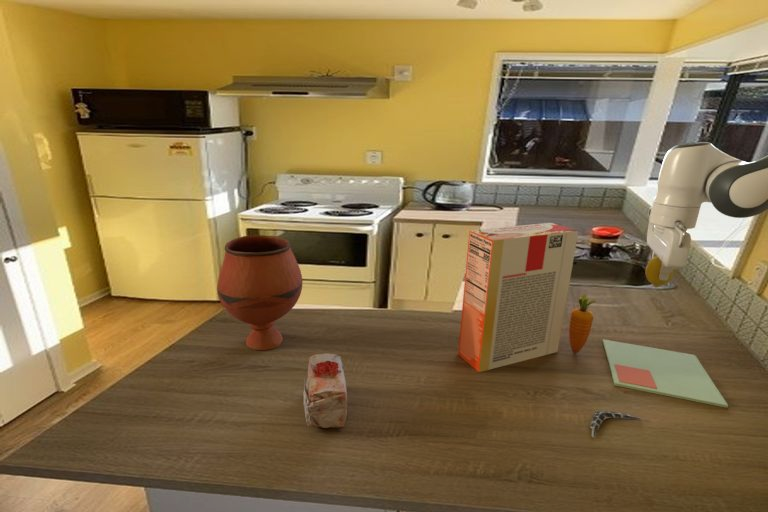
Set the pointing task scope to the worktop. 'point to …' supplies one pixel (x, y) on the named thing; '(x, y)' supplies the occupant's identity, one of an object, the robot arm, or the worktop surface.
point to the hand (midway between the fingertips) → (658, 274)
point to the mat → (661, 372)
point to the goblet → (259, 285)
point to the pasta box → (515, 293)
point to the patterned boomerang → (602, 415)
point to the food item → (325, 392)
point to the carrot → (580, 324)
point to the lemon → (656, 272)
